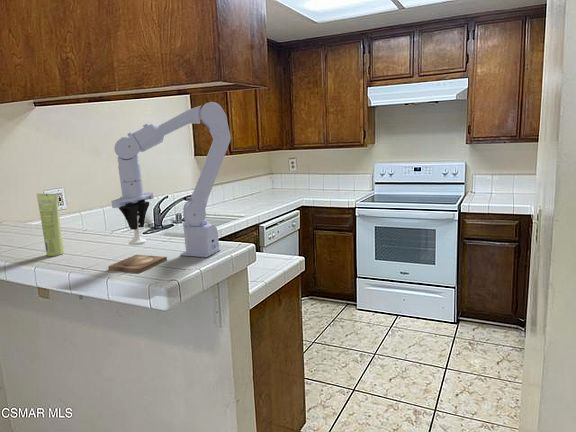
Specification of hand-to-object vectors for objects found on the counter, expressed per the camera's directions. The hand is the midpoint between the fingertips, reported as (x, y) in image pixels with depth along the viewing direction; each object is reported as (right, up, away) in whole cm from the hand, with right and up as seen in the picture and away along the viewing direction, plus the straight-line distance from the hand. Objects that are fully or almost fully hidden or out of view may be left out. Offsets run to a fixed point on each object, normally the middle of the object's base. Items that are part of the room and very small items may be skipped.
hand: (137, 228), depth 126 cm
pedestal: (+2, -10, -3) cm, 11 cm away
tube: (-30, -9, +13) cm, 34 cm away
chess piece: (0, -5, +1) cm, 5 cm away
